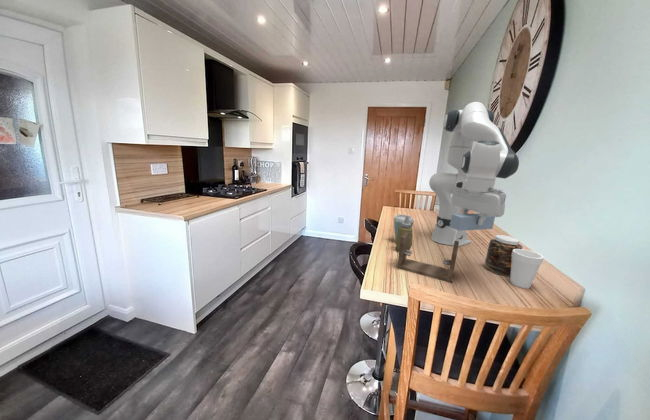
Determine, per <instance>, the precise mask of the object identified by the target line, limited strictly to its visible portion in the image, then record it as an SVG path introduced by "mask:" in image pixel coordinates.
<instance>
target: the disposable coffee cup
mask: <svg viewBox="0 0 650 420" xmlns="http://www.w3.org/2000/svg"><path fill="white" fill-rule="evenodd" d="M406 216H409V215H407V214H396V215H394V217H393V224H394V225H393V228H394V241H395V242H396V238H397V234H398V230H399V227H401V224H402V222H404V221H405V218H406ZM414 222H415V220H414V218H413V217H412V216H409V223H410V224H411V228H412V229H413V225H414Z"/></svg>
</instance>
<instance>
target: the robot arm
mask: <svg viewBox="0 0 650 420" xmlns="http://www.w3.org/2000/svg"><path fill="white" fill-rule="evenodd" d="M494 123H495V113H494V111H493V110H488V109H487V108H486V106H485V105H484V103H482V102H480V101H472V102H469V103H468V104H466V106H465V107H463V109H454V110H449V111H448V112H447V113H446V115H445V116H444V119H443V127H444V129H445V131H446V132H451V133H452V136H451V139H450V142H449V145H448V146H449V147H448V152H447V153H448V154H447V160H446V161H447V163H448V165H450V166H451V167H453V168H454V169H456V170H457V173H449V172H439V173H434V174H433V175H432V176H431V177H430V179H429V182H428V184H429V185H428V186H429V188H430V189H431V191H433V192H434V193H435V195H436V197H437V198H438V202H439V204H438V205H439V208H438V213H437V214H438V215H437V217H436V223H435V224H434V225H435V226H434V229H433V233H432V234H431V235H430V236H431V240H432V241H433V242H435V243H438V244H441V245H445V246H446V245H447V246H451V247H452V246H454V241H458V242H459V245H458V248H459V247H462V246H465V245H469V244H471V243H472V241H471V239H468V232H467V231H468V230H463V231H458V230H456V229H453V228H451V227H450V222H451V217H452V214H469V211H471V212H475V213H480V216H481V217H480V218H479V220H476V224H477V225H483V221H484V220H485V219H486V218H487V217H488V215H489V216H492V217H495V218H501V217H503V216H504V214H505V209H506V198H507V193H505V192H504V191H503V190H502V189H497V188H495V184H496V178H498V179H507V178H509V177H511V176H513V175H514V174H515V173H517V171H518V169H519V165H520V164H519V163H520V161H519V156H517V154H516V153H515V151H514V150H513V149H512V148H511V145H510V143H509V141H508V139H507V137H506V136H505V133H504V132H503V130H502V129H501V127H500V126H498V125H496V124H494ZM474 142H475V143H474ZM473 144H474V146H473ZM461 212H462V213H461Z"/></svg>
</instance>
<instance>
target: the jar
mask: <svg viewBox="0 0 650 420" xmlns="http://www.w3.org/2000/svg"><path fill="white" fill-rule="evenodd" d="M513 249H523V246H522V244H520V240H519V239H517V238H516V237H513V236H509V235H502V234H496V235H495V237H494V238H491V239H490V240H489V244H488V247H487V251H486V256H485V262H484V266H483V267H484V269H486V270H487V271H489V272H492V273H493V274H497V275H500V276H503V277H510V275H511V261H512V256H511V255H512V250H513Z"/></svg>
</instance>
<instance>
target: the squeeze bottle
mask: <svg viewBox="0 0 650 420" xmlns="http://www.w3.org/2000/svg"><path fill="white" fill-rule="evenodd" d="M406 231H407V232H410V234H409V241H408V248H407V250H409V251H411V248H412V246H413V232H414V230H413V227H412V228H411V224H410V223H409V215H408V216H406V218H405V221H404V222H402V224H401V227H399V230H398V234H397V238H396V241H395V248H396V250H397V251H398V252H399V248H400V240H401V236H402V235H403V234H404V233H405V232H406Z"/></svg>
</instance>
